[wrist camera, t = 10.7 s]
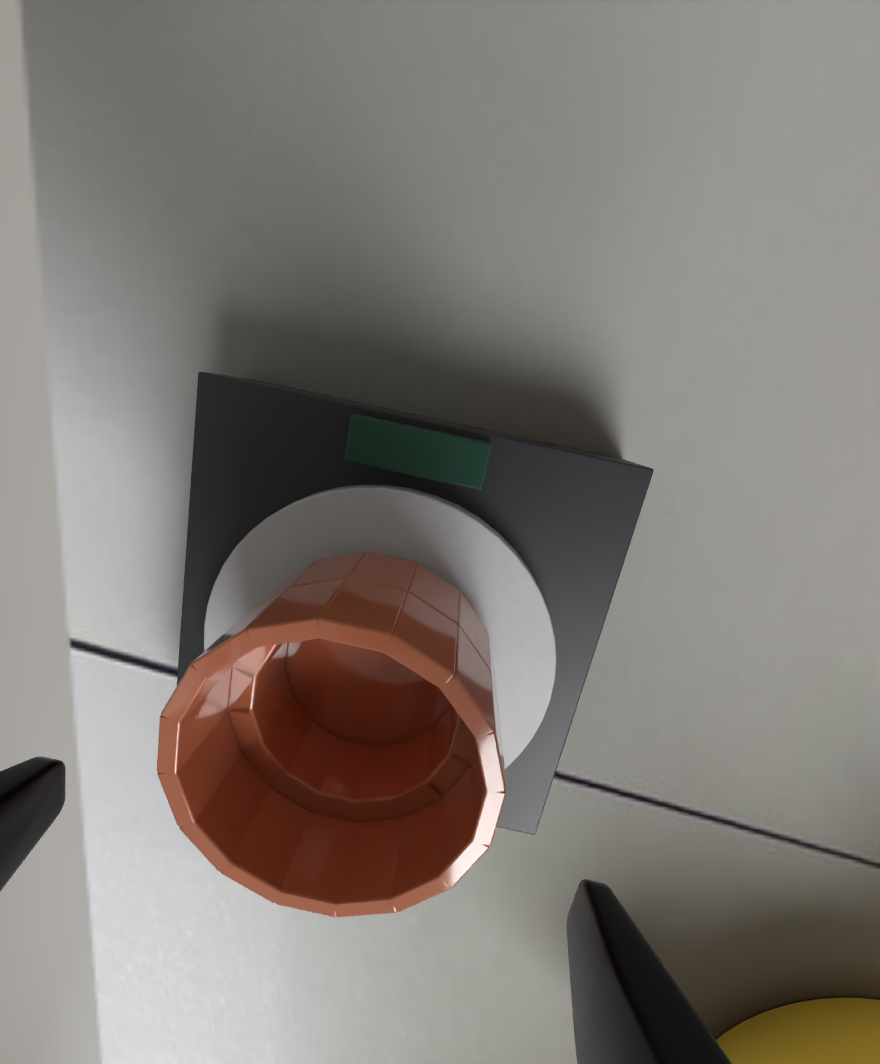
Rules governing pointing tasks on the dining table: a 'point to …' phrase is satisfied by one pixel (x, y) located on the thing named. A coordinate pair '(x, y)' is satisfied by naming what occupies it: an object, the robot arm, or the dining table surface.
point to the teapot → (808, 1034)
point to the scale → (416, 538)
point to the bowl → (341, 740)
